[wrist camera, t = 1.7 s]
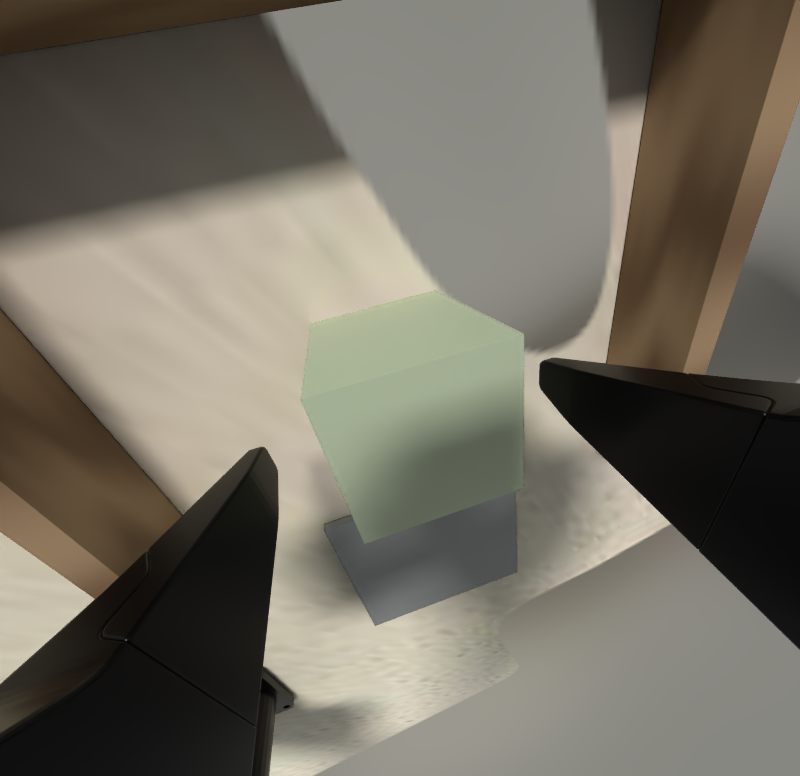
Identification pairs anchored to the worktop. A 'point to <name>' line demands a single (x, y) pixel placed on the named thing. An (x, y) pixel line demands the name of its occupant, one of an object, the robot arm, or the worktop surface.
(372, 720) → the worktop surface
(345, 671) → the worktop surface
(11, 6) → the brown open-sided frame
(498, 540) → the slate mat
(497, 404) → the sage block
